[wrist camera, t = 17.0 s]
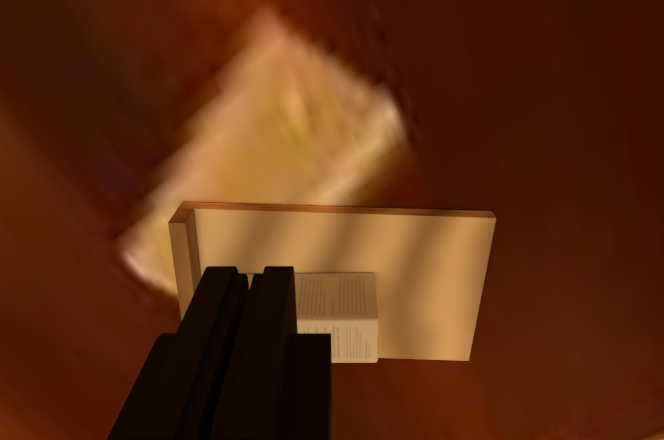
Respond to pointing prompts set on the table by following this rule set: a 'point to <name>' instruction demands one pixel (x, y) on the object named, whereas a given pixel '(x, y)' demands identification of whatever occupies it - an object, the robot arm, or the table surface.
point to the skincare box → (339, 312)
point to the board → (354, 261)
